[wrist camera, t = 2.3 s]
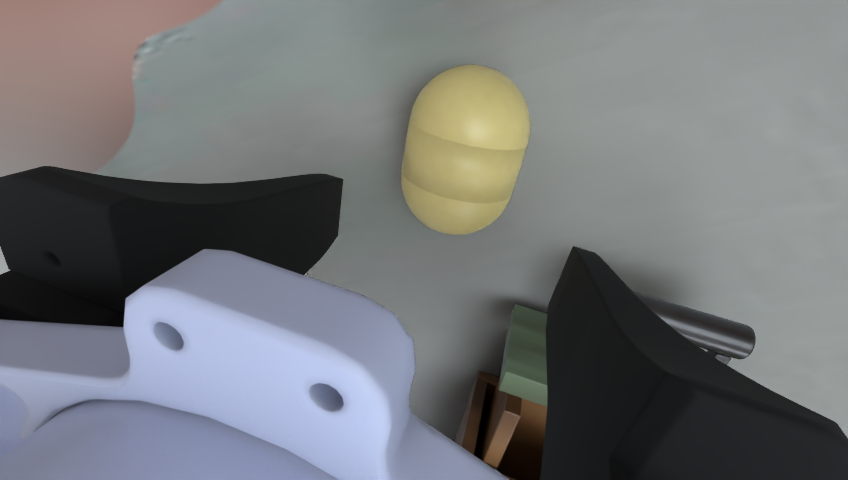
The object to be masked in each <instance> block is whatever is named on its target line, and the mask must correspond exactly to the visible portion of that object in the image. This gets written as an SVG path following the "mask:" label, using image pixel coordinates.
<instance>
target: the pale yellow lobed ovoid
mask: <svg viewBox="0 0 848 480" xmlns="http://www.w3.org/2000/svg"><path fill="white" fill-rule="evenodd" d="M529 135H530V116H529V111H528V107H527V104H526V102H525V99H524V97H523V95H522V93H521V92H520V90H519V89H518V87H517V86H516V85H515V84H514V83H513V82H512V81H511V80H510V79H509V78H508V77H507V76H506V75H504V74H502V73H500V72H499V71H497V70H495V69H493V68H489V67H486V66H480V65H473V64H472V65H462V66H457V67H454V68H451V69H448V70H446V71H444V72H442V73H441V74H439V75H437V76H436V77H434V78H433V79H432V80H431V81H430V82H429V83H428V84H427V85H426V86H425V87H424V88H423V90H422V91H421V92H420V94H419V95H418V97H417V99H416V101H415V103H414V105H413V109H412V112H411V116H410V120H409V126H408V132H407V138H406V145H405V151H404V157H403V163H402V172H401V185H402V192H403V194H404V197H405V200H406V202H407V205H408V207H409V208H410V210H411V211H412V212H413V214H414V215H415V216H416V217H417V218H418V219H419V220H420V221H421V222H422V223H424V224H425V225H426V226H428V227H429V228H432V229H434V230H436V231H439V232H442V233H446V234H455V235H463V234H469V233H472V232H476V231H479V230H481V229H483V228H485V227H486V226H488V225H490V224H491V223H492V222H493V221H495V220H496V219H497V218H498V217H499V216H500V215H501V213H502V212H503V211H504V209H505V208H506V206H507V204H508V203H509V200H510V198H511V196H512V193H513V190H514V187H515V183H516V180H517V177H518V174H519V171H520V167H521V164H522V161H523V158H524V155H525V151H526V148H527V145H528V140H529Z"/></svg>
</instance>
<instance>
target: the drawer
mask: <svg viewBox="0 0 848 480" xmlns="http://www.w3.org/2000/svg"><path fill="white" fill-rule="evenodd" d="M632 292H633V293H634V294H635V295H636V296H637V297H638V298H639V299H640V300H641V301H642V302H644V303H645V304H646V305H647V306H648V307H649V308H650V309H651V310H652V311H653V312H654V313H655V314H657V315H658V316H659V317H660V318H661V319H662V320H664V321H665V322H666V323H667V324H669V325H670V326H671V327H672V328H674V329H675V330H676V331H678V332H679V333H680V334H681V335H683V336H684V337H685V338H687V339H688V340H689V341H691V342H692V343H694V344H695V345H697V346H698V347H701V348H704V349H707V350H708V352H707V353H709V354H710V355H712V356H713V357H715V358H716V359H718V360H719V361H721V362H722V363H724V364H726V365H727V364H728V362H729V361H730V360H731V357H733V358H736V359H744V358H746V357H748V356H749V355H750V354H751V352H752V350H753V348H754V345H755V333H754V331H753V329H752V328H751V327H749V326H747V325H744V324H741V323H737V322H734V321H731V320H727V319H724V318H721V317H717V316H714V315H710V314H707V313H704V312H700V311H697V310H694V309H690V308H687V307H684V306H680V305H677V304H674V303H670V302H667V301H664V300H660V299H657V298H654V297H650V296H647V295H644V294H640V293H637V292H634V291H632ZM547 315H548V314H545V313H542V312H539V311H536V310H532V309H529V308H526V307H523V306H520V305H517V304H515V306H514V308H513V311H512V314H511V316H510V319H509V324H508V330H507V337H506V343H505V350H504V356H503V363H502V369H501V375H500V378H499V381H498V383H497V386H496V389H495V391H494V394H493V396H492V399H491V401H490V404H489V407H488V409H487V412H486V414H485V417H484V420H483V422H482V425H481V427H480V430H479V432H478V436H477V441H476V446H475V451H474V456H476V457H477V458H479V459H480V460H482V461H483V462H485V463H486V464H488V465H489V466H491V467H492V468H494V469H495V470H497V471H498V472H500V473H501V474H503V475H505V476H508V477H511V478H513V479H516V480H540V475H541V465H542V456H543V447H544V437H545V426H546V415H547V364H546V323H547Z"/></svg>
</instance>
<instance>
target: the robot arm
mask: <svg viewBox="0 0 848 480" xmlns="http://www.w3.org/2000/svg"><path fill="white" fill-rule="evenodd" d="M342 186H343V179H341V178H338V177H334V176H331V175H327V174H307V175H298V176H290V177H283V178H275V179H267V180H257V181H247V182H237V183H214V184H191V183H168V182H153V181H142V180H133V179H124V178H116V177H109V176H103V175H97V174H91V173H85V172H80V171H74V170H68V169H63V168H57V167H51V166H43V167H39V168H35V169H31V170H27V171H23V172H19V173H15V174H11V175H7V176H4V177H0V246H1V249H2V252H3V255H4V257H5V260H6V263H7V265H8V268H9V269H10V271H8V272H6V273H3V274H1V275H0V480H510V479H508V478H507V477H505V476H504V475H502V474H501V473H500V472H498V471H497V470H495V469H494V468H492V467H491V466H489V465H488V464H486V463H485V462H483V461H482V460H480V459H479V458H477V457H476V456H474V455H473V454H471V453H470V452H469V451H467V450H466V449H464V448H463V447H461V446H460V445H458V444H457V443H455V442H454V441H452V440H451V439H449V438H448V437H446V436H445V435H443V434H442V433H441V432H439V431H438V430H436V429H435V428H433V427H432V426H430V425H429V424H427V423H426V422H424V421H423V420H421V419H420V418H418V417H417V416H415V415H414V414H413V412H412V411H411V409H410V406H409V396H410V389H411V385H412V381H413V377H414V373H415V369H416V363H415V353H414V343H413V339H412V338H411V337H410V335H409V334H408V332H407V331H406V330H405V328H404V327H403V325H402V324H401V323H400V321H399V320H398V319H397V317H396V316H395V314H394V313H392V312H391V311H389V310H387V309H385V308H384V307H382V306H380V305H379V304H377V303H375V302H374V301H372V300H370V299H368V298H367V297H365V296H363V295H361V294H358V293H355V292H352V291H349V290H346V289H343V288H340V287H337V286H334V285H331V284H328V283H325V282H322V281H319V280H316V279H313V278H310V277H307V276H304V274H305V273H306V272H307V271H308V270H309V269H310V268H312V267H313V266H314V265H315V264H316V263H317V262H318V261H319V260H320V259H321V258H322V256H323V255H324V254H325V253H326V251H327V250H328V249H329V247H330V246H331V245H332V243H333V242H334V240H335V239H336V237H337V236H338V228H339V217H340V207H341V196H342ZM546 364H547V415H546V426H545V437H544V447H543V456H542V465H541V475H540V480H848V438H847V437H846V436H845V434H844V433H843V431H842V430H841V428H840V427H839V426H838V424H837V423H836V422H834V421H832V420H830V419H828V418H826V417H824V416H822V415H820V414H818V413H816V412H814V411H811V410H809V409H807V408H805V407H803V406H801V405H799V404H797V403H795V402H793V401H791V400H789V399H787V398H785V397H783V396H781V395H779V394H777V393H775V392H773V391H771V390H769V389H767V388H765V387H764V386H762V385H760V384H758V383H757V382H755V381H753V380H751V379H749V378H748V377H746V376H744V375H742V374H741V373H739V372H737V371H735V370H734V369H732V368H731V367H729V366H727V365H726V364H724V363H722V362H721V361H719V360H718V359H716V358H715V357H713V356H712V355H710V354H709V353H707V352H706V351H704V350H703V349H701V348H700V347H698V346H697V345H695V344H694V343H692V342H691V341H689V340H688V339H687V338H685V337H684V336H683V335H681V334H680V333H679V332H678V331H676V330H675V329H674V328H672V327H671V326H670V325H669V324H667V323H666V322H665V321H664V320H662V319H661V318H660V317H659V316H658V315H657V314H655V313H654V312H653V311H652V310H651V309H650V308H649V307H648V306H647V305H646V304H645V303H644V302H642V301H641V300H640V299H639V298H638V297H637V296H636V295H635V294H634V293H633V292H632V291H631V290H630V289H629V288H628V287H627V286H626V284H625V283H624V282H623V281H622V280H621V279H620V278H619V277H618V276H617V275H616V274H615V273H614V271H613V270H612V269H611V268H610V267H609V266H608V265H607V264H606V263H605V262H604V261H603V260H602V259H601V258H600V257H599V256H598V255H597V254H596V253H594V252H591V251H587V250H584V249H580V248H577V247H573V248H572V250H571V252H570V255H569V257H568V259H567V262H566V264H565V267H564V269H563V271H562V274H561V276H560V278H559V281H558V283H557V285H556V288H555V290H554V292H553V295H552V297H551V300H550V302H549V308H548V315H547V323H546Z"/></svg>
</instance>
